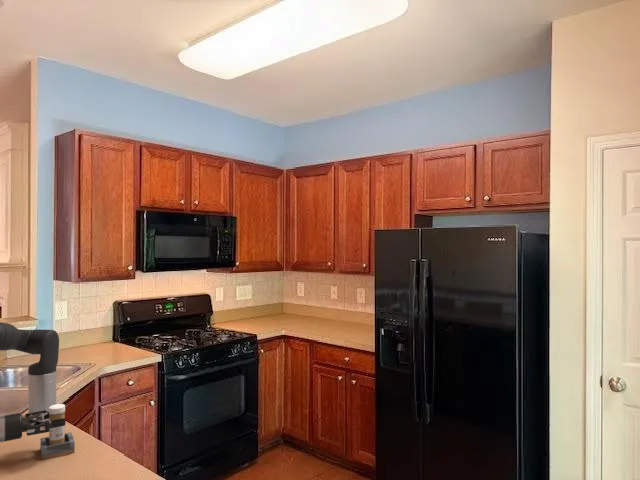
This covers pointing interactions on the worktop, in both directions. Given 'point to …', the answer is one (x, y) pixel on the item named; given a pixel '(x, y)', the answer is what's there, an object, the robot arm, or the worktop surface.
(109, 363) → the worktop surface
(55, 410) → the sprinkles bottle
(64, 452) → the socket jig
